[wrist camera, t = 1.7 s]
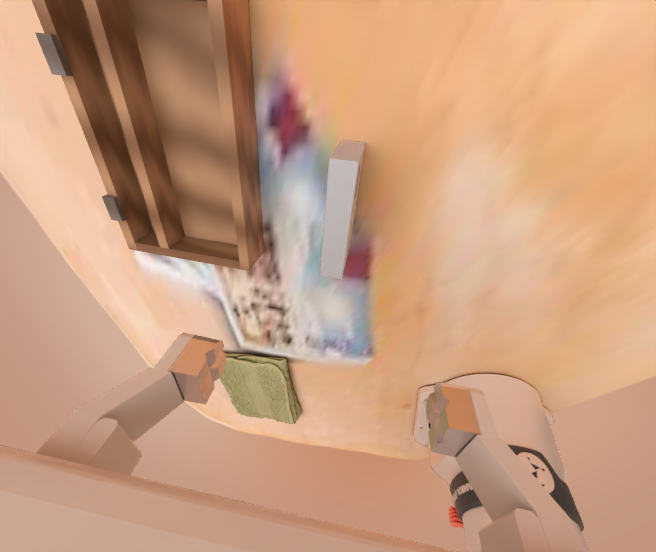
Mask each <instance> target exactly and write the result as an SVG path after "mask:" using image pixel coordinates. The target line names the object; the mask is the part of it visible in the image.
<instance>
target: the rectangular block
mask: <svg viewBox="0 0 656 552" xmlns="http://www.w3.org/2000/svg"><path fill="white" fill-rule="evenodd" d="M365 145H366V142H359V141H351V140H344V139H343V141H342V142H341V143H340V145H339V146H338V147H337V149H336V150H335V151H334V153H333V154H332V155H331V157H330V158H329V169H328V181H327V193H326V205H325V218H324V230H323V242H322V254H321V267H320V276H325V277H330V278H336V279H342V277H343V272H344V268H345V264H346V260H347V256H348V252H349V248H350V244H351V238H352V231H353V224H354V218H355V211H356V205H357V198H358V191H359V185H360V178H361V171H362V165H363V158H364V151H365Z"/></svg>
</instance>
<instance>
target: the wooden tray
mask: <svg viewBox="0 0 656 552" xmlns="http://www.w3.org/2000/svg"><path fill="white" fill-rule="evenodd" d="M32 2H33V5H34V7H35V10H36V12H37V15H38V17H39V20H40V22H41V25H42V28H43V30H44V33H45V34H43V33H36V36H37V38H38V40H39V43H40V45H41V48H42V50H43V53H44V55H45V58H46V60H47V63H48V65H49V67H50V70H51V72H52V74H55V75H61V76H62V79H63V81H64V84H65V86H66V89H67V91H68V94H69V96H70V99H71V101H72V104H73V107H74V109H75V112H76V114H77V117H78V119H79V122H80V124H81V127H82V130H83V132H84V135H85V137H86V140H87V142H88V145H89V147H90V150H91V153H92V155H93V158H94V160H95V163H96V165H97V168H98V170H99V173H100V175H101V178H102V181H103V183H104V186H105V188H106V191H107V193H108V195H105V196H102V198H103V200H104V203H105V205H106V208H107V210H108V213H109V215H110V217H111V220H117V221H119V224H120V226H121V229H122V232H123V234H124V237H125V239H126V242H127V244H128V247H129V249H132V250H137V251H143V252H148V253H154V254H160V255H165V256H171V257H176V258H182V259H187V260H193V261H198V262H204V263H209V264H215V265H220V266H226V267H232V268H237V269H243V270H248V271H250V269H251V268H252V266H253V265H254V264H255V262H256V261H257V260H258V258H259V257H260V256H261V254H262V253H263V251H264V246H263V229H262V213H261V197H260V180H259V164H258V148H257V132H256V115H255V99H254V83H253V66H252V50H251V34H250V18H249V1H248V0H32Z"/></svg>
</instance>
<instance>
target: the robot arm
mask: <svg viewBox="0 0 656 552" xmlns="http://www.w3.org/2000/svg"><path fill="white" fill-rule="evenodd" d="M223 347H224V345H223V341H221V340H216V339H211V338H207V337H202V336H197V335H193V334H187V333H182V334H181V335H179V336H178V337H177V339H176V340H175V341H174V343H173V344H172V345H171V347H170V348H169V349H168V350H167V352H166V353H165V354H164V356H163V357H162V358H161V360H160V361H159V362H158V363H157V365H156V366H155V367H154V368H149V369H147V370H145V371H143V372H141V373H140V374H138V375H136V376H134V377H133V378H131V379H129V380H127V381H126V382H124V383H122V384H120V385H118V386H116V387H115V388H113V389H111V390H109V391H108V392H106V393H104V394H102V395H101V396H99V397H97V398H95V399H93V400H92V401H90V402H88V403H86V404H84V405H82V406H81V407H79V408H77V409H75V410H74V412H73V413H72V414H71V415H70V416H69V417H68V418H67V419H66V420H65V421H64V423H63V424H62V425H61V426H60V427H59V428H58V429H57V430H56V431H55V432H54V434H53V435H52V436H51V437H50V438H49V439H48V441H46V442H45V444H44V445H43V446H42V447H41V448H40V449H39V450H38V451H37V452H36V453H33V452H28V451H24V450H20V449H16V448H11V447H7V446H3V445H0V552H457V551H452V550H448V549H444V548H440V547H435V546H431V545H427V544H422V543H418V542H414V541H410V540H405V539H401V538H396V537H393V536H388V535H384V534H379V533H375V532H371V531H367V530H363V529H358V528H354V527H349V526H345V525H341V524H337V523H332V522H328V521H323V520H319V519H315V518H311V517H307V516H303V515H298V514H294V513H289V512H285V511H281V510H277V509H273V508H268V507H264V506H260V505H255V504H251V503H247V502H243V501H238V500H234V499H230V498H226V497H221V496H217V495H212V494H208V493H204V492H200V491H195V490H191V489H187V488H182V487H178V486H174V485H170V484H166V483H161V482H157V481H152V480H148V479H144V478H140V477H135V476H131V475H130V474H131V472H132V471H133V469H134V468H135V466H136V464H137V463H138V461H139V459H140V458H141V451H140V450H139V448H138V447H137V446H136V445H135V443H134V441H135V440H136V439H138V438H139V437H140V436H141V435H143V434H144V433H145V432H146V431H148V430H149V429H150V428H152V427H153V426H154V425H155V424H157V423H158V422H159V421H160V420H162V419H163V418H164V417H165V416H167V415H168V414H169V413H170V412H172V411H173V410H174V409H175V408H177V407H178V406H179V405H180V404H182V403H183V402H184V400H185V401H190V402H196V403H202V404H206V403H207V401H208V399H209V397H210V395H211V394H212V392H213V390H214V381H215V380H217V379H218V378H220V377H221V375H222V373H223V371H224V367H225V364H226V354H225V353H224V352H223V351H222V349H223ZM553 423H554V419H553V416H552V414H551V412H550V411H549V410H547V409H546V408H545V407H543V405H542V402H541V398H540V396H539V394H538V392H537V391H536V390H535V389H534V388H533V387H532V386H530V385H529V384H527V383H525V382H523V381H521V380H519V379H516V378H513V377H509V376H504V375H497V374H474V375H467V376H462V377H459V378H455V379H453V380H450V381H448V382H445V383H441V382H438V383H436V384H435V385H432V386H426V387H422V388H420V389H419V392H418V399H417V407H416V415H415V423H414V431H413V435H414V440H415V441H416V442H418V443H420V444H421V445H424V446H426V447H428V450H429V459H430V465H431V468H432V470H433V471H434V472H435V473H436V474H437V475H438V476H440V477H441V478H442V479H443V480H444V481H445V482H446V483H447V484H448V485H449V486H450V491H451V494H452V499H453V503H454V506H455V507H456V508H455V507H452V506H451V507H450V509H449V511H450V512H449V515H450V516H449V519H451V520H450V523H452V524H451V525H452V526H453V527H462V528H464V533H465V539H466V545H467V552H590V551H589V549H588V547H587V544H586V542H585V539H584V537H583V535H582V531H583V529H584V526H583V523H582V520H581V517H580V515H579V509H578V507H577V504H576V502H575V501H574V500H573V498H572V495H571V493H570V491H569V488H568V486H567V485H566V483H565V482H563V481H564V480H565V478H566V470H565V467H564V464H563V461H562V458H561V455H560V452H559V449H558V446H557V444H556V440H555V438H554V435H553V432H552V429H551V425H552V424H553Z"/></svg>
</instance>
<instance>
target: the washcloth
mask: <svg viewBox="0 0 656 552" xmlns="http://www.w3.org/2000/svg"><path fill="white" fill-rule="evenodd" d="M287 370H288V368H287V361H286V359H285V358H283V357H281V358H278V357H259V356H254V355H252V354H251V355H249V354H226V364H225V367H224V371H223V373H222V375H221V377H220V379H221V382H222V383H223V385H224V387H225V389H226V390H227V392H228V393H229V395H230V398H231V401H232V403H233V405H234V406H235V408H236V409H237V412H238V413H240V414H241V415H244V416H250V417H258V418H264V417H265V418H269V419H274V420H276V421H280V422H285V423H290V424H295V423H296V421H297V420H298V418H299V417H300V415H301V413H302V412H301V407H300V405H299V403H298V400H297V397H296V395H295V391H294V388H293V386H292V385H293V384H292V383H291V382H292V380H291V379H290V378H291V377H289V372H288V371H287Z"/></svg>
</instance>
